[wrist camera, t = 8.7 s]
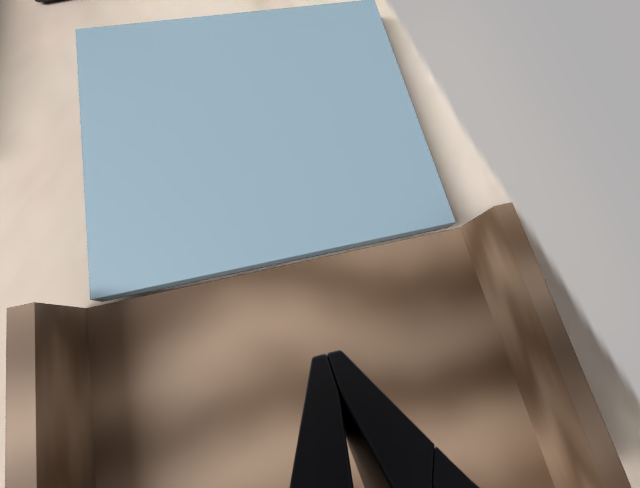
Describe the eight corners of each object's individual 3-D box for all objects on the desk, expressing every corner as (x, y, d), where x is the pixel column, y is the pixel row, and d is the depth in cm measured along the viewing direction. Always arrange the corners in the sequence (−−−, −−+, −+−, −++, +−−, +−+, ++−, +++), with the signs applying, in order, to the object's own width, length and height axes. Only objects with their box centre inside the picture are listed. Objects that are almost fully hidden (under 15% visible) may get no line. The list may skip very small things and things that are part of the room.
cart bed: (562, 484, 19) (651, 535, 15) (91, 654, 16) (2, 797, 11) (467, 228, 24) (512, 202, 19) (76, 313, 20) (6, 308, 15)
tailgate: (455, 221, 21) (374, -1, 26) (90, 299, 18) (75, 29, 23) (447, 227, 22) (370, 13, 27) (102, 301, 19) (86, 43, 24)
